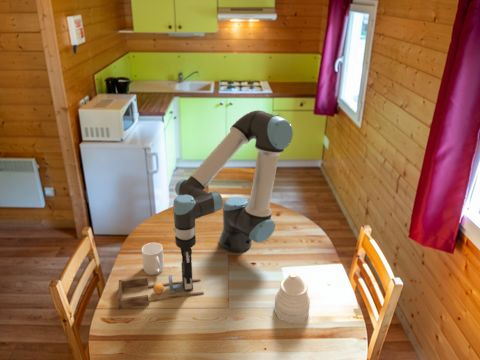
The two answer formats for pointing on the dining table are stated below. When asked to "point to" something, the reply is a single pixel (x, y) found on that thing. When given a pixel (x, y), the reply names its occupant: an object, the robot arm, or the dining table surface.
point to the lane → (175, 295)
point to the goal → (132, 300)
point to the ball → (158, 288)
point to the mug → (153, 258)
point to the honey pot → (292, 299)
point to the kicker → (179, 286)
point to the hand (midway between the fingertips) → (187, 284)
